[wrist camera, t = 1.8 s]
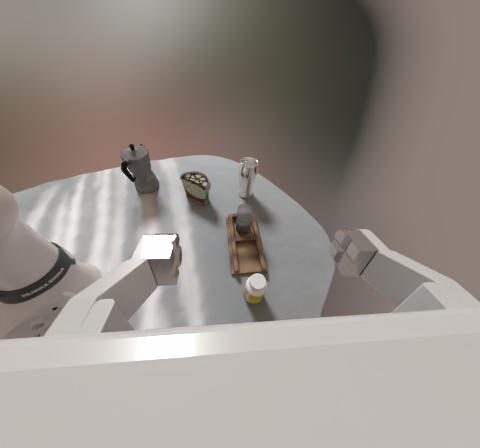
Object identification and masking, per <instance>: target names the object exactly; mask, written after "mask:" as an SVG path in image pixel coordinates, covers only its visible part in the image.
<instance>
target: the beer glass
mask: <svg viewBox="0 0 480 448" xmlns="http://www.w3.org/2000/svg"><path fill="white" fill-rule="evenodd" d="M257 167H258V161H257V160H256V159H254V158H251V157H244V158H242V159H241V160H240V165H239V184H240V187H239V190H238V194H239V196H240V197H242V198H249V197H251V196H252V187H253V184H254V182H255V179H256V175H257V169H258V168H257Z"/></svg>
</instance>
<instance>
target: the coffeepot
mask: <svg viewBox="0 0 480 448" xmlns="http://www.w3.org/2000/svg"><path fill="white" fill-rule="evenodd" d="M144 146H145V145H138V146H136V147H134V145H133V144H130V145H129V148H127V149H125V150H123V151H121V155H120V157H121V159H122V160H123V162H122V164H121V170H122V172H123V173H124V174H125V175H126V176H127V177H128V178H129V179H130V180H131V181H132V182H134V183H135V187H136V190H137V191H139V192H141V193H151V192H153V191H155V190H157V189H158V187H159V181H158V180H157V178H156V176H155V174H154V173H153V171H152V170H151V164H150V158H149V153H148V149H146V148H144ZM127 167H128V169H129V170H130V172H132V173H133V177H132V175H131V174H130V173H129V172H128V170H127Z"/></svg>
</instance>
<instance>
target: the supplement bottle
mask: <svg viewBox="0 0 480 448" xmlns="http://www.w3.org/2000/svg"><path fill="white" fill-rule="evenodd" d="M266 289H267V284H266V279H265V277H264V276H263V275H262V274H259V273H256V274H253V275H252V276H251V277H249V278H248V280H247V282H246V285H245V289H244V298H245V300H246V301H247V302H248V303H250V304H257V303H259V302H260V301H261V300H262V298H263V296H264V294H265V292H266Z"/></svg>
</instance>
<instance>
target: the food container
mask: <svg viewBox="0 0 480 448" xmlns="http://www.w3.org/2000/svg"><path fill="white" fill-rule="evenodd" d="M180 179H182V182H183V185H184V189H185V192H186V195H187V197H189V198H190V199H192V200H194V201H196V202H198V203H200V204H202V205H204V206H206V205H207V203H208V193H209V189H210V186H211V185H210V181H209V179H208V177H207V176H206V175H205V174H203V173H200V172H187V173H184V174H182V175H181V176H180Z"/></svg>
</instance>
